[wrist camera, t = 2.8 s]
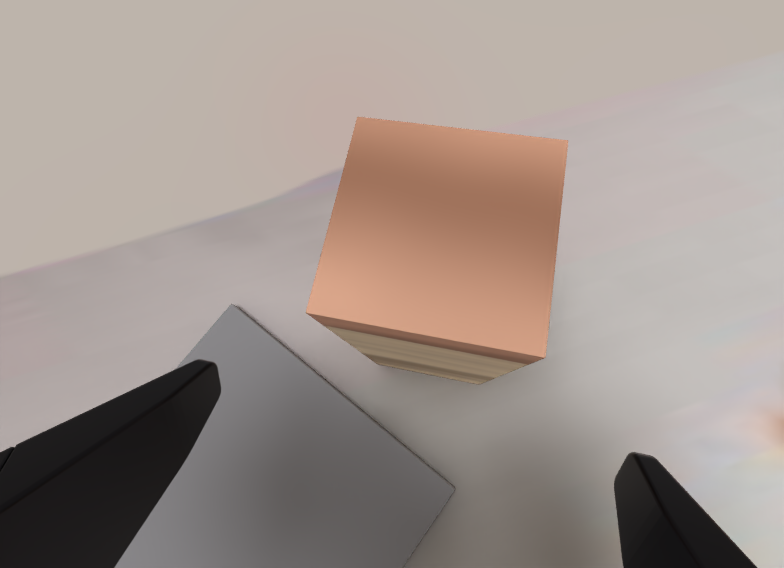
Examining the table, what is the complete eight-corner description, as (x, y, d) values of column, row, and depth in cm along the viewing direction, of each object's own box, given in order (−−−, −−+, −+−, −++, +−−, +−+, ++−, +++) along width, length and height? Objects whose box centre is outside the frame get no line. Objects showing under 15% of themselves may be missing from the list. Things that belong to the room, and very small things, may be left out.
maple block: (478, 384, 20) (545, 357, 8) (377, 363, 20) (305, 312, 9) (493, 285, 21) (568, 140, 9) (397, 269, 22) (357, 116, 10)
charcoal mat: (454, 486, 18) (455, 489, 18) (246, 793, 16) (239, 808, 15) (236, 306, 22) (231, 303, 21) (38, 538, 19) (26, 542, 19)
